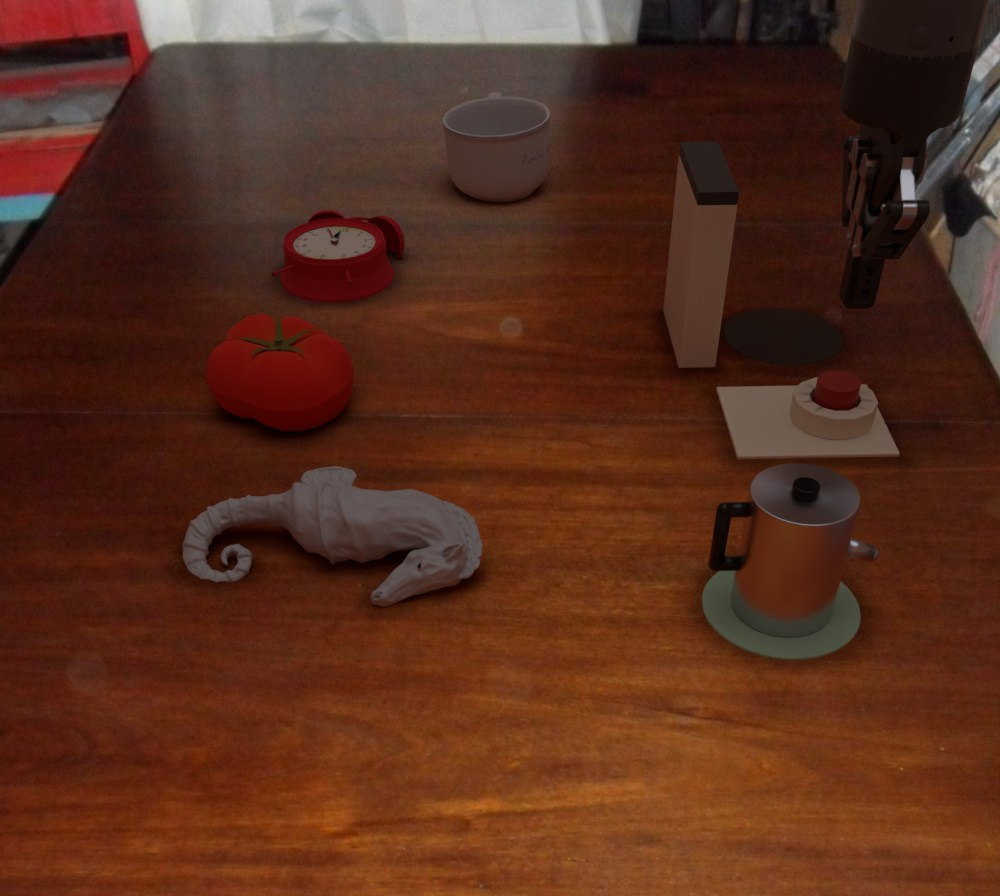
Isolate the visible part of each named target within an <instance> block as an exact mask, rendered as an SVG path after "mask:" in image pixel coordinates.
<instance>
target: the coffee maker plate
mask: <svg viewBox="0 0 1000 896" xmlns="http://www.w3.org/2000/svg"><path fill="white" fill-rule="evenodd" d="M722 335H723V339H724V340H725V342H726V344H727V345H728V346H729V347H730V348H731V349H732V350H734V351H735V352H737V353H738V354H740V355H742V356H744V357H746V358H749V359H751V360H754V361H757V362H760V363H764V364H770V365H776V366H786V367H787V366H789V367H798V366H799V367H800V366H809V365H814V364H818V363H822V362H826V361H827V360H830V359H831V358H833V357H835V356H836V355H837V354H839V352H840V351H841V349H842V348H843V344H844V339H843V336H842V333H841V331H840V330H839V329H838V328H837V327H836V326H835V325H834V324H832V323H831V322H830V321H828V320H826V319H824V318H823V317H820V316H818V315H815V314H812V313H809V312H805V311H801V310H796V309H789V308H779V307H778V308H777V307H775V308H774V307H772V308H771V307H770V308H758V309H753V310H748V311H744V312H742V313H738V314H737V315H734V316H733V317H731V318H730V319H729V320H728V321H727V322H726V323H725V325H724V326H723V330H722Z"/></svg>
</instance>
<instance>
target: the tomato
mask: <svg viewBox="0 0 1000 896" xmlns="http://www.w3.org/2000/svg"><path fill="white" fill-rule="evenodd" d="M205 367H206V369H205V370H206V372H205V373H206V379H205V380H206V382H207V384H208V387H209V389H210V392H211V394H212V396H213V398H214V400H215V402H217V404H218V405H219V406H220V407H221V408H222V409H223V410H224V411H226V412H228V413H230V414H231V415H234V416H236V417H239V418H241V419H247V420H256V421H257V422H259V423H260V424H262V425H264V426H266V427H269V428H273V429H276V430H279V431H281V432H303V431H307V430H310V429H315V428H318V427H320V426H323V425H325V424H327V423H328V422H331V421H332V420H335V419H336V418H337V417H338V416H339V415H340V414H341V413H342V411H343V410H344V409H345V408H346V407H347V405H348V403H349V401H350V398H351V396H352V391H353V387H354V376H355V369H354V365H353V361H352V358H351V355H350V353H349V352H348V351H347V349H346V347H345V346H344V345H343V343H342V342H340V340H338V339H336V338H334V337H333V336H331V335H329V334H327V333H326V332H325V330H323V329H322V327H320V328H319V327H317V326H315V325H313V324H311V322H309V321H308V320H307V319H304V318H301V317H298V316H296V315H289V316H285V317H283V318H281V317H280V315H279V316H278V317H277V319H275V318H273V317H272V316H270V315H269V314H267V313H264V312H263V313H257V314H250V315H248V316H246V317H244V318H243V319H241V320H240V321H238V322H237V323H236V324H234V325H233V326H231V327H230V328H229V329H228V332H227V335H226V339H225V341H223V342H222V343H221V344H219V345H218V346H216V347H214V348H213V349H212V351H211V353H210V354H209V357H208V359H207V362H206V366H205Z"/></svg>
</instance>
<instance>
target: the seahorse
mask: <svg viewBox="0 0 1000 896" xmlns="http://www.w3.org/2000/svg"><path fill="white" fill-rule="evenodd" d="M356 478H357V473H356V472H355V470H354V469H352V468H351V469H350V468H348V467H343V466H338V465H333V466H327V467H319V468H315V469H310V470H307V471H305V472H304V473H303V474H302V475H301V477H300V481H295V482H293V483H292V485H291V488H289V490H287V491H285V492H282V493H277V494H274V493H269V494H268V495H263V496H262V495H261V496H260V495H251V494H247V495H246V496H243V497H240V498H233V497H229V498H227V499H226V500H222V501H220V502H218V503H215V504H214V505H208V506H207V507H206V510H204V511H203V512H201V513H200V514H198V515H197V517H196V518H194V519H191V520H190V522H189V526H188V528H187V530H186V532H185V536H184V540H183V542H181V543H182V544H181V546H182V557H181V558H182V560H183V563H184V566H185V568H186V570H187V571H188V572H189V573H191V574H192V575H194V576H196V577H198V578H199V579H200V580H210V581H213V582H214V583H219V582H233V583H234V582H237V581H239V580H241V579H244V577H246V576H247V575H249V574H250V569H251V567H252V564H253V562H252V560H253V559H254V555H253V553H252V551H250V550H249V549H248V548H247V547H244V546H243V545H241V543H235V544H230V545H227V546H226V547H224V548H223V550H222V551H221V554H220V559H221V563H222V564H223V565H224V566H227V567H228V566H229V563H228V559H229V557H230V556H231V555H235V556H236V560H237V563H236V565H235V566H234V567H233V569H231V570H230V569H227V570H225V571H224V572H221V571H220V570H218V569H217V570H216V569H212V567H211V566H210V565H209V564H208V559H207V557H208V555H209V554H210V551H209V547H210V546H212V545H213V539H214V538H215V537H216V536H221V535H222V533H223V531H225V530H226V529H229V528H232V527H235V528H239V527H240V526H242V525H256V524H258V523H268V524H272V525H274V526H277V527H282V528H284V529H286V530H287V531H288V532H289V533H290V534H291V536H292V537H293V539H294V540H295V541H296V542H297V543H298V545H300V546H301V547H302V548H303V549H304V550H305V551H306V552H307V553H309V554H314V553H316V554H317V555H320V556H321V557H323V558H325V559H327V560H328V561H329V562H330V564H331V565H332V566H333V565H335V564H336V563H342V562H345V561H348V560H351V561H355V562H358V563H359V564H365V563H367V562H370V561H378V560H381V559H383V558H384V557H386V556H388V555H389V554H392V553H394V552H403V551H404V552H405V551H410V552H409V553H407V555H406V557H405V559H404V560H403V561H402V562H401V563H400V564H399V565H398V566H397V567H395V568H394V570H392V571H391V572H390V574H389V575H388V576H387V577H386V578H385V579H384V580H383V582H382V583H381V584H379V585H378V587H377V588H376V589H374V590H373V591H372V592H371V594H370V604H371V605H373V606H379V607H381V608H384V607H388V606H392V605H394V604H398V603H399V602H402V601H403V600H405V599H408V598H410V597H413V596H416V595H424V594H427V593H429V592H432V591H436V590H437V591H438V590H440V589H443V588H448V587H455V586H457V585H458V584H459V583H460V582H461V580H462V579H469V578H470V577H472V576H473V574H474V572H475V571H476V570H478V569H479V568H480V563H481V559H480V558H481V557H482V556H483V548H484V545H483V541H482V539H481V534H480V531H479V530H480V529H479V526H478V525H477V522H476V519H475V518H474V517H473V516H472V515H471V514H470V513H468V511H467V510H466V509H465V508H462V507H461V506H459V505H456V504H455V503H453V502H450V501H448V500H442V499H441V498H438V497H436V496H435V495H432V494H428V493H426V492H424V491H421V490H417V489H412V488H403V489H393V490H379V489H368V488H367V489H365V488H360V487H358V486H355V485H353V484H354V482H355V480H356Z"/></svg>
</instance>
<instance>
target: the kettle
mask: <svg viewBox="0 0 1000 896" xmlns="http://www.w3.org/2000/svg"><path fill="white" fill-rule="evenodd" d="M860 507H861V496H860V492H859V490H858V489H857V487H856V486H855V484H854V483H853V482H852V481H851V480H850V479H849V478H848V477H846V476H845V475H842V474H841V473H839V472H837V471H835V470H832V469H831V468H827V467H824V466H821V465H817V464H810V463H802V462H791V463H790V462H789V463H781V464H777V465H772V466H769V467H767V468H765V469H763V470H761V471H760V472H759V473H757V474H756V475H755V476H754V478H752V481H751V483H750V485H749V489H748V495H747V501H725V502H724V501H723V502H720V503H719V504H718V505H717V507H716V512H715V520H714V525H713V531H712V538H711V545H710V551H709V558H708V567H709V569H710V570H711V571H713V572H718V571H735V575H734V581H733V587H732V593H731V606H732V608H733V611H734V612H735V614H736V615H737V617H738V618H739V619H740V620H741V621H742V622H744V623H745V624H746V625H748V626H749V627H751V628H753V629H755V630H757V631H759V632H762V633H764V634H768V635H772V636H777V637H790V638H792V637H801V636H806V635H810V634H813V633H815V632H817V631H819V630H820V629H822V628H823V627H824V626H825V625H826V624H827V623H828V622H829V620H830V619H831V616H832V613H833V609H834V605H835V601H836V597H837V593H838V589H839V585H840V581H841V582H842V577H843V573H844V569H845V565H846V561H847V557H849V558H851V559H855V560H859V561H860V562H861V561H862V562H865V563H874V562H877V560H878V559H879V558H880V549H879V548H878V546H876V545H874V544H873V543H868V542H866V541H861V540H858V539H855V538H852V537H853V533H854V531H855V527H856V522H857V519H858V514H859V511H860ZM732 518H736V519H737V518H738V519H739V518H744V519H743V525H742V529H741V536H740V542H739V547H738V553H737V555H726V550H727V544H728V539H729V533H730V526H731V521H732Z"/></svg>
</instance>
